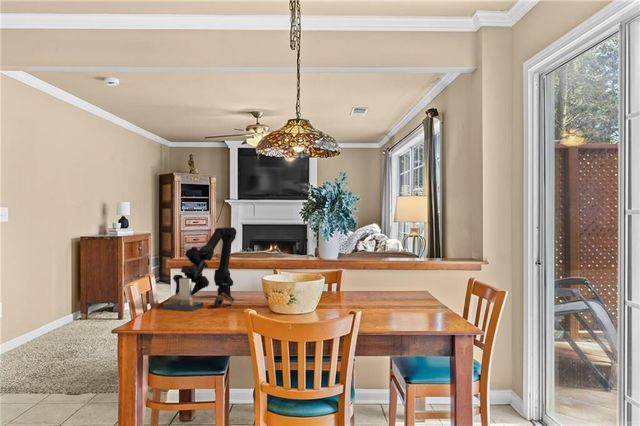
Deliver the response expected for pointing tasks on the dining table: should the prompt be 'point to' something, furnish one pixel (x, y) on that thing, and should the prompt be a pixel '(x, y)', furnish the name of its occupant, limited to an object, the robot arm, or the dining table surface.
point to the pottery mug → (220, 300)
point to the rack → (183, 306)
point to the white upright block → (185, 288)
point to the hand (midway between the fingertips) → (183, 294)
